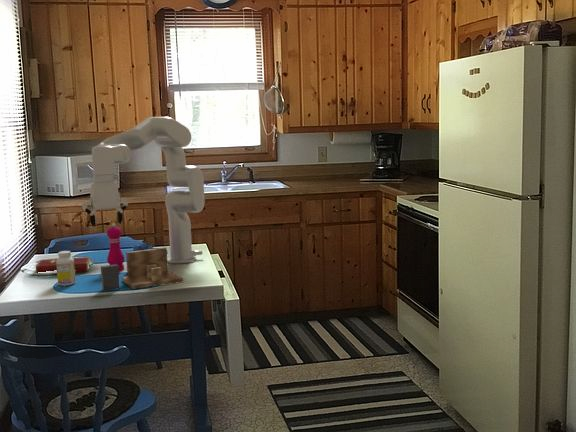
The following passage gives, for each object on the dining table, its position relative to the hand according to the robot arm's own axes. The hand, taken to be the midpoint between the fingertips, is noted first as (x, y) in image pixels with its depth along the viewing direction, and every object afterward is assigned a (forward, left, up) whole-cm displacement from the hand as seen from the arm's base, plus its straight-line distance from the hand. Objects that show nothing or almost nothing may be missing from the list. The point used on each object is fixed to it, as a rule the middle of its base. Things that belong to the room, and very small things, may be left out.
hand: (106, 224), depth 259 cm
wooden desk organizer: (-17, -2, -25) cm, 30 cm away
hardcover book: (+9, -43, -26) cm, 51 cm away
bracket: (0, 0, -25) cm, 25 cm away
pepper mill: (-10, -30, -25) cm, 40 cm away
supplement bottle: (+13, -17, -25) cm, 33 cm away
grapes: (-19, -22, -25) cm, 38 cm away
